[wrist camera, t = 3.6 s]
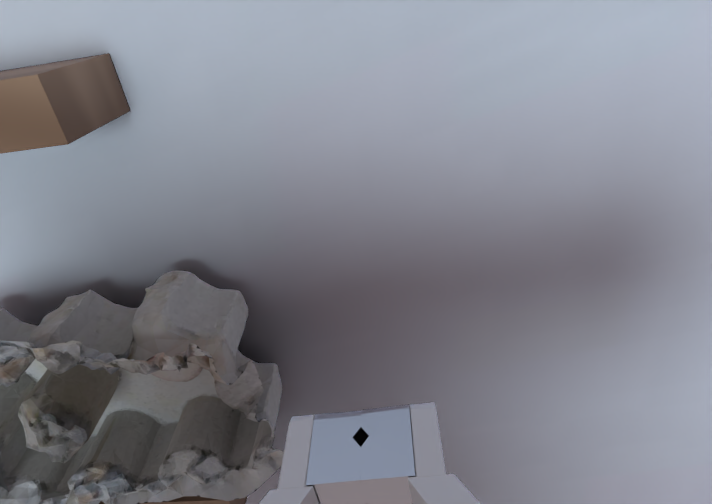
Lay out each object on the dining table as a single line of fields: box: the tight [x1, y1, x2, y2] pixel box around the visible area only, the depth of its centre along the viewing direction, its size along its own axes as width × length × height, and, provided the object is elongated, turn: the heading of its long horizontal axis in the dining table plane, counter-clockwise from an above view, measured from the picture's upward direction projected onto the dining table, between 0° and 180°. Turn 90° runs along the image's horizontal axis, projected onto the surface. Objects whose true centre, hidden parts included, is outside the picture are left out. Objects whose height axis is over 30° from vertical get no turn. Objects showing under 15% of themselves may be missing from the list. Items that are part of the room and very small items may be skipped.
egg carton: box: [0, 271, 283, 504], centre depth 16 cm, size 11×8×4 cm
